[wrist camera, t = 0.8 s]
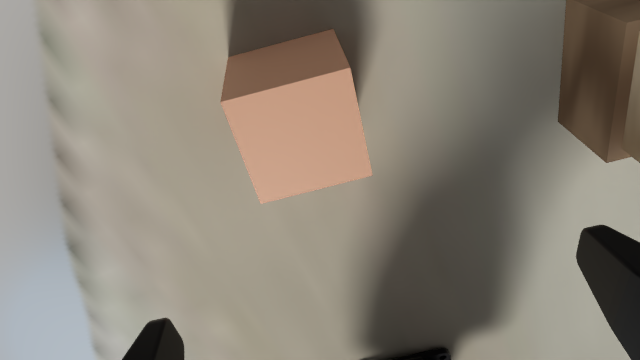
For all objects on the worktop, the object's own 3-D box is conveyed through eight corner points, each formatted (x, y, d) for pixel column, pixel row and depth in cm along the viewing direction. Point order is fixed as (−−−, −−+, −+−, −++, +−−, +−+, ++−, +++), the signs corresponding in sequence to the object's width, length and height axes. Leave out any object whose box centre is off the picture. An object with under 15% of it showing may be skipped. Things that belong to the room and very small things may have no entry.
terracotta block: (353, 122, 22) (372, 175, 18) (260, 146, 22) (260, 203, 18) (333, 28, 19) (350, 67, 15) (228, 56, 19) (220, 102, 16)
